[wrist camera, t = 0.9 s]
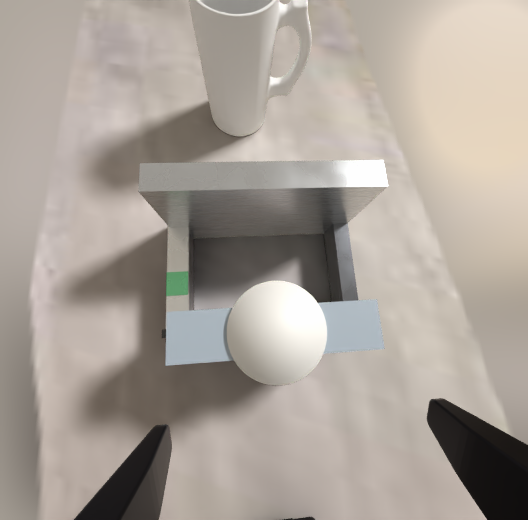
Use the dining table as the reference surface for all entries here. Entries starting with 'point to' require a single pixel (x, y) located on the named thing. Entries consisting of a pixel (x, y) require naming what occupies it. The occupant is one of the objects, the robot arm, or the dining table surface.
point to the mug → (246, 56)
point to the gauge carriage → (273, 332)
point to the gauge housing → (259, 210)
